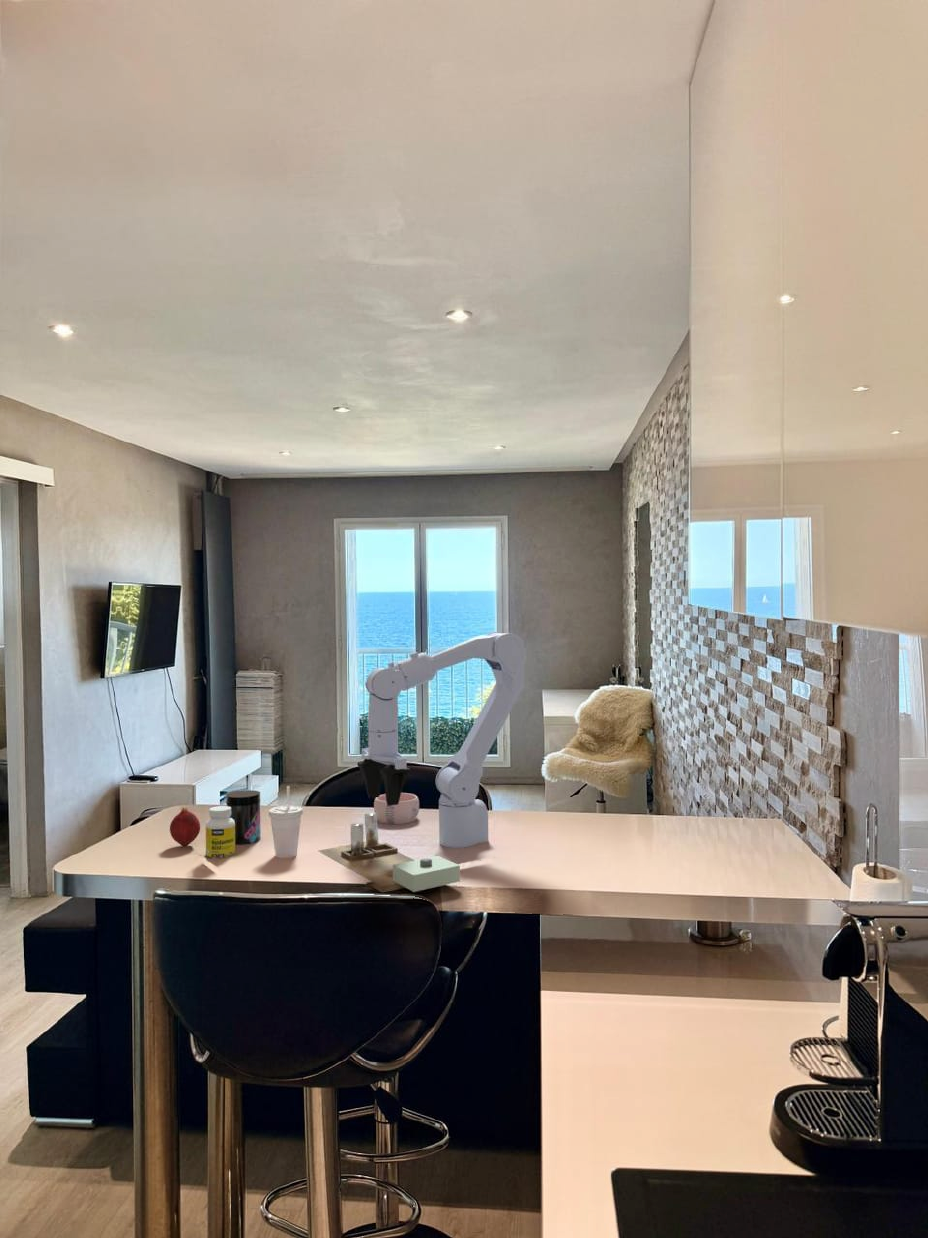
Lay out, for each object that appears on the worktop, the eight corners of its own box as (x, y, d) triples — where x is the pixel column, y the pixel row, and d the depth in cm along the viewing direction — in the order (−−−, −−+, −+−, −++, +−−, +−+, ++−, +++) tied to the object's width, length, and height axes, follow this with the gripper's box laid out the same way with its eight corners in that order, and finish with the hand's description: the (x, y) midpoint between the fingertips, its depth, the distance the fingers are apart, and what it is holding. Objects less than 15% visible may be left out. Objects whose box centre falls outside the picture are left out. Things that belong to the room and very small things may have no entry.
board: (373, 845, 169) (373, 836, 169) (443, 879, 147) (442, 869, 147) (317, 855, 162) (317, 846, 162) (382, 892, 140) (382, 882, 140)
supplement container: (240, 851, 165) (239, 799, 165) (219, 846, 170) (218, 794, 169) (267, 844, 171) (267, 793, 170) (247, 838, 175) (246, 788, 175)
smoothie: (295, 866, 156) (294, 790, 155) (263, 864, 157) (262, 789, 157) (308, 856, 162) (307, 783, 162) (277, 854, 163) (276, 782, 163)
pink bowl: (414, 830, 180) (414, 803, 180) (369, 829, 181) (369, 802, 181) (424, 816, 192) (424, 790, 192) (382, 815, 193) (381, 790, 193)
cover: (437, 871, 147) (437, 851, 147) (459, 881, 142) (459, 860, 142) (392, 880, 142) (392, 860, 142) (413, 892, 137) (413, 870, 137)
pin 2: (366, 842, 167) (364, 812, 166) (378, 841, 167) (377, 812, 166) (365, 846, 164) (364, 816, 164) (378, 846, 164) (376, 816, 164)
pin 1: (361, 854, 159) (360, 822, 159) (365, 857, 157) (365, 825, 157) (349, 856, 158) (348, 824, 158) (353, 859, 156) (353, 827, 156)
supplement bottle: (208, 865, 157) (208, 812, 157) (203, 857, 162) (202, 807, 161) (238, 861, 159) (237, 809, 159) (232, 853, 164) (231, 803, 164)
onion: (205, 846, 170) (205, 806, 169) (179, 852, 165) (178, 811, 165) (191, 840, 174) (190, 802, 173) (164, 846, 169) (164, 807, 169)
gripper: (347, 727, 166) (347, 796, 166) (383, 736, 154) (382, 811, 154) (379, 725, 170) (379, 792, 170) (416, 733, 158) (416, 806, 158)
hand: (383, 801), depth 162 cm, fingers open, 7 cm apart
